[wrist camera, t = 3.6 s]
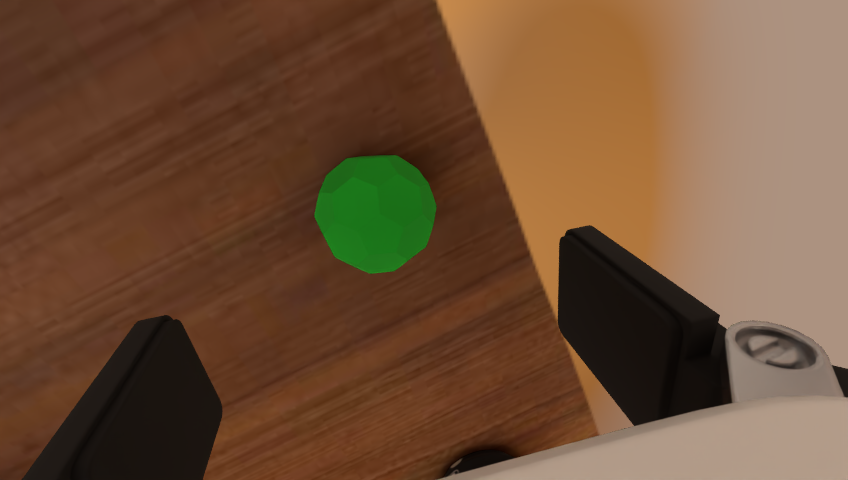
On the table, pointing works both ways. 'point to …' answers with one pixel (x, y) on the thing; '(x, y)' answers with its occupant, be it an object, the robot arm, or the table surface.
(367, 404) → the table surface
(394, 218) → the polyhedron
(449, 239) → the table surface
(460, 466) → the beverage can
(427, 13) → the table surface
